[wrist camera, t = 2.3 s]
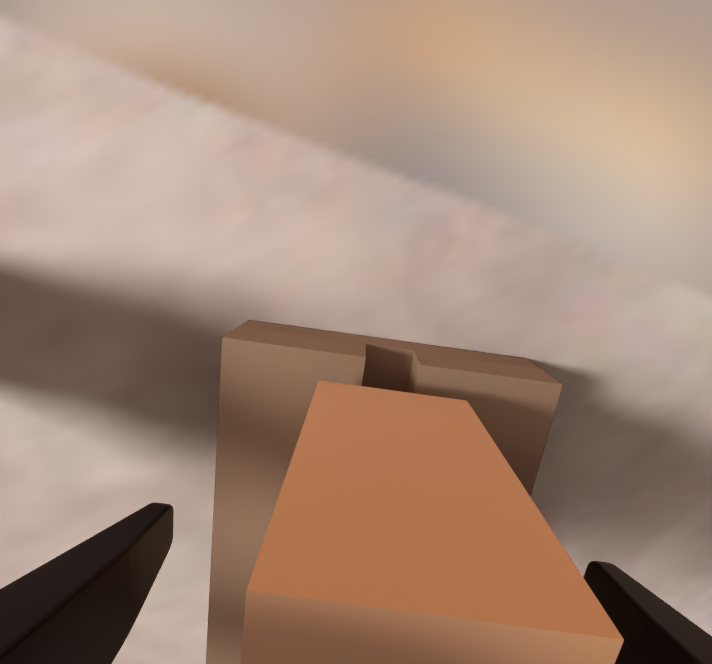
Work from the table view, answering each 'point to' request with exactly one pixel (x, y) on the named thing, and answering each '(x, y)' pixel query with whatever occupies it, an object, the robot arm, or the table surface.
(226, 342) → the fader board
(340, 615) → the fader knob
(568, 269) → the table surface
